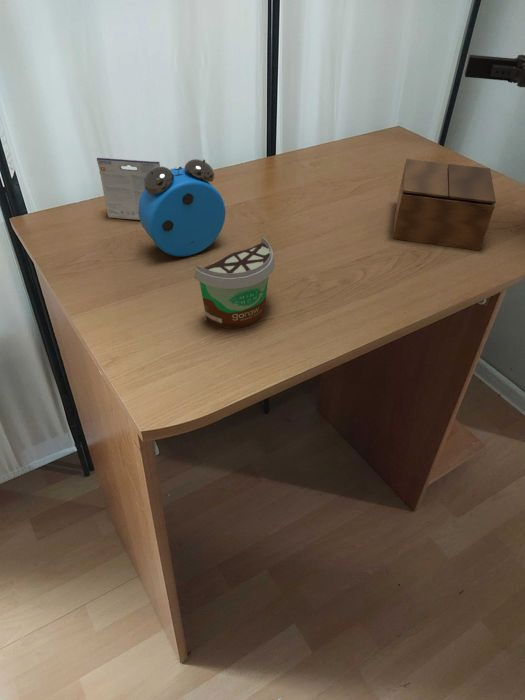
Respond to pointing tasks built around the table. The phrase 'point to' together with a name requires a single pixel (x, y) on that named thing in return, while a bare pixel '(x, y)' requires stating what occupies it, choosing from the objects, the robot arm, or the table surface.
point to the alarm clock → (182, 208)
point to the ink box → (123, 185)
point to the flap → (470, 183)
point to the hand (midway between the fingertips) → (467, 65)
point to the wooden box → (437, 209)
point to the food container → (237, 286)
